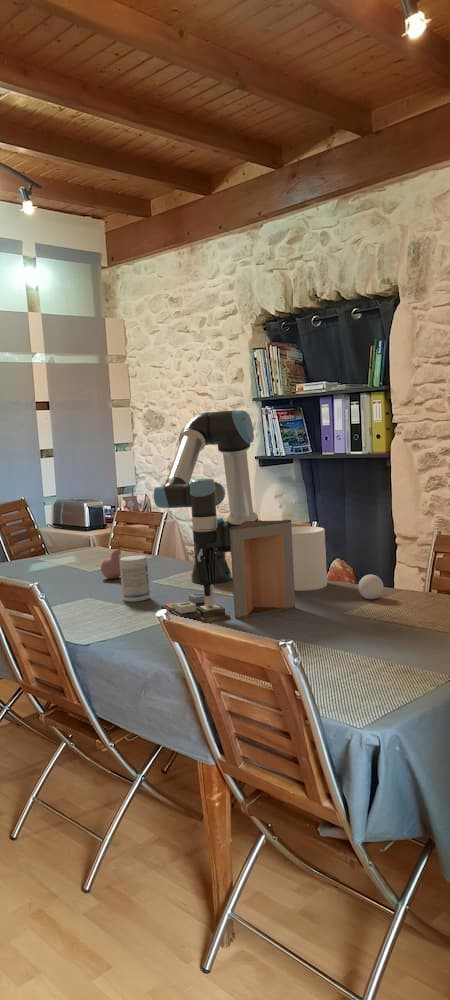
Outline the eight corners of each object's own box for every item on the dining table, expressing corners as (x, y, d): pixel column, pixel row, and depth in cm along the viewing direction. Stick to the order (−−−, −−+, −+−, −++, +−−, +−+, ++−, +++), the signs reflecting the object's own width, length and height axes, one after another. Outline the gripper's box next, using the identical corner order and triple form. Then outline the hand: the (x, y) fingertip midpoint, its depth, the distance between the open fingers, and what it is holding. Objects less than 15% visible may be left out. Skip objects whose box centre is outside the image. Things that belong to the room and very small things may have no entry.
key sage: (190, 607, 233) (189, 600, 233) (196, 611, 229) (195, 604, 228) (175, 610, 231) (174, 603, 231) (180, 613, 227) (180, 606, 226)
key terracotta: (180, 608, 242) (180, 601, 241) (186, 611, 237) (185, 604, 237) (165, 610, 240) (165, 603, 239) (171, 614, 235) (170, 607, 235)
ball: (388, 597, 245) (387, 573, 244) (375, 603, 239) (374, 578, 238) (367, 595, 250) (366, 571, 249) (353, 600, 244) (352, 575, 243)
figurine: (133, 577, 303) (130, 547, 301) (108, 582, 296) (106, 551, 295) (121, 574, 310) (119, 545, 308) (97, 579, 303) (95, 549, 302)
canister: (276, 589, 266) (273, 533, 264) (289, 580, 280) (287, 526, 278) (320, 591, 260) (317, 533, 257) (331, 581, 274) (329, 526, 272)
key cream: (214, 610, 237) (214, 603, 236) (220, 613, 232) (220, 606, 232) (199, 612, 235) (199, 605, 234) (205, 616, 230) (205, 609, 230)
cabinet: (237, 619, 229) (232, 527, 226) (222, 612, 238) (217, 524, 235) (295, 607, 239) (291, 520, 236) (279, 602, 247) (275, 517, 244)
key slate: (203, 598, 245) (202, 591, 244) (209, 601, 240) (208, 594, 240) (188, 600, 243) (188, 594, 242) (194, 603, 238) (194, 596, 238)
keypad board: (206, 606, 248) (206, 597, 248) (230, 618, 231) (229, 608, 230) (157, 614, 241) (156, 604, 241) (178, 627, 224) (177, 617, 224)
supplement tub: (154, 599, 262) (151, 557, 261) (130, 604, 257) (126, 561, 256) (141, 594, 270) (139, 554, 269) (117, 599, 265) (114, 558, 264)
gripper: (202, 526, 238) (206, 600, 240) (185, 533, 226) (190, 610, 228) (224, 526, 235) (228, 600, 238) (208, 532, 223) (213, 611, 225)
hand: (209, 605), depth 233 cm, fingers closed
